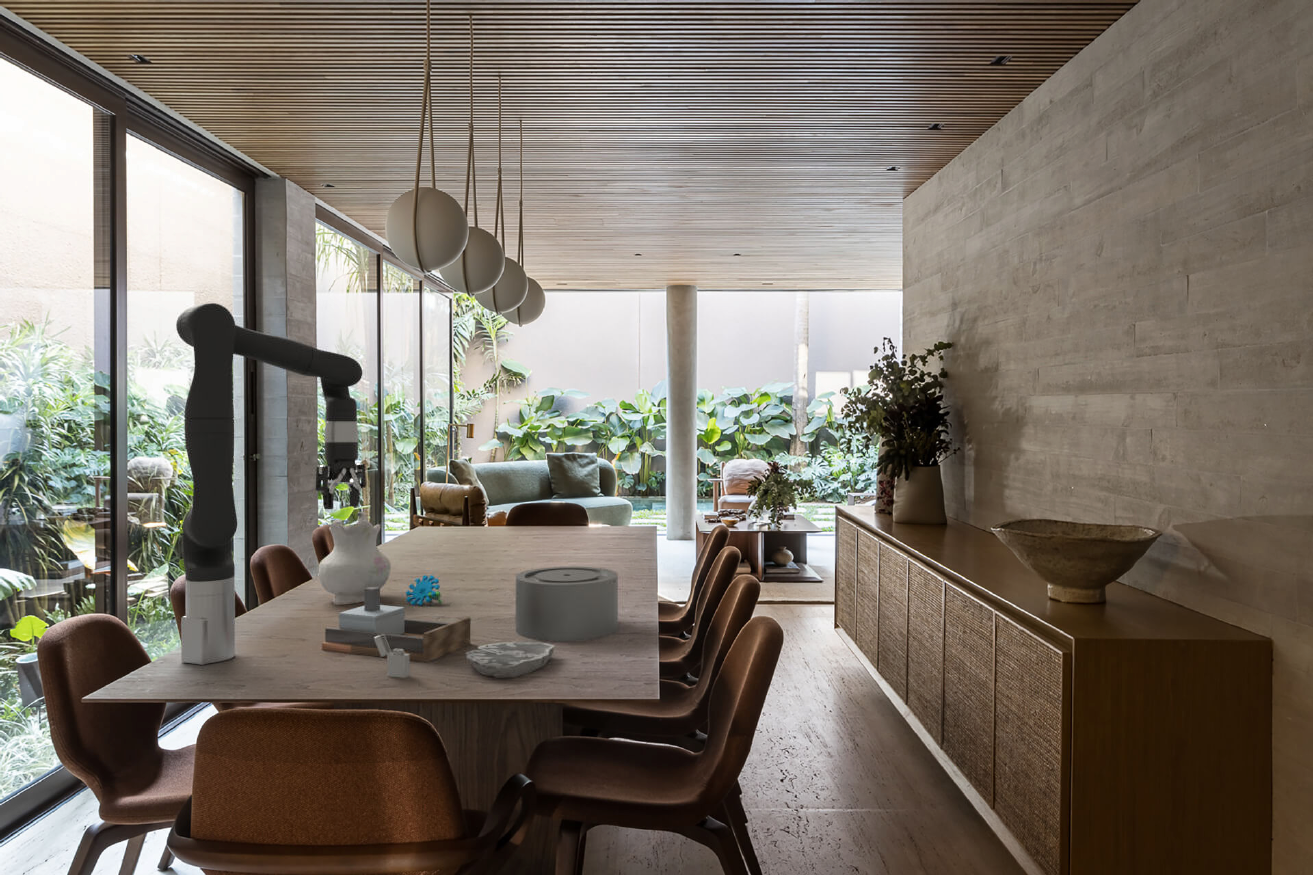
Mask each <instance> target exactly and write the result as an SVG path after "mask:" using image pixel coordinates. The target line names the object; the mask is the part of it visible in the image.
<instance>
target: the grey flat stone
mask: <svg viewBox="0 0 1313 875" xmlns="http://www.w3.org/2000/svg"><path fill="white" fill-rule="evenodd" d="M554 651H555V645H554V644H551V643H547V642H539V641H532V640H531V641H530V640H524V641H509V642H508V641H507V642H506V641H505V642H498V643H497V642H496V643H488V644H483V645H478V646H477V647H476V649H471V650H469V651H466V652H464V655H465V659H466V660H467V661H468V662H470V663H471V666H472V667H473V668H474V669H475V670H476V672H478V673H479V674H481V675H483V676H490V677H493V678H494V679H495V678H496V679H508V678H509V679H510V678H516V677H519V676H523V675H527V674H529V673H533V672H534V671H535V672H536V670H538V669H542V668H544V666H545V665H546V664H547V663H548V661H549V660H550V659H551V657H552V656H553V654H554Z"/></svg>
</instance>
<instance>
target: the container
mask: <svg viewBox="0 0 1313 875" xmlns="http://www.w3.org/2000/svg"><path fill="white" fill-rule="evenodd" d="M618 587H619V574H618V573H617V571H614V570H611V569H606V568H601V567H594V566H554V567H553V566H551V567H541V568H535V569H534V568H533V569H529V570H525V571H522V572H519V573H517V574H516V575H515V633H516V634H517V635H518V636H520V637H522V638H526V639H530V640H536V641H543V642H555V643H556V642H563V643H564V642H567V643H568V642H579V641H582V642H583V641H589V640H595V639H601V638H603V637H607V636H608V637H609V636H610V635H612V634H614V633H615V632H617V631H618V628H619V617H618V616H619V604H618V603H619V597H618V596H619V588H618Z"/></svg>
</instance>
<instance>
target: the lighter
mask: <svg viewBox="0 0 1313 875" xmlns="http://www.w3.org/2000/svg"><path fill="white" fill-rule="evenodd" d="M374 640H375V643H376V645H377V647H378V650H379V652H380V655H381V658H384V657H383V656H385V655H387V657H386V658H387V659H386V664H387V665H386V670H387V671H386V672H387V674H386V676H387V677H391V678H401V679H406V678H408V677H410V672H411V670H410V666H411V665H410V663H411V660H410V654H404V653H405V652H404V650H403V649H394V650H393V653H391V649H390V647H389V644H388V642H387V640H386V637H385V635H384V634H381V635H379V636H377V637H375V638H374Z"/></svg>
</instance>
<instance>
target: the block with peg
mask: <svg viewBox="0 0 1313 875" xmlns="http://www.w3.org/2000/svg"><path fill="white" fill-rule="evenodd" d="M363 603H364V605H362V606H357V607H354V608H351V609H348V610H345V611H342V612H338V628H339V629H348V630H358V631H367V632H376V633H385V634H394V635H401V634H403V633H404V619H405V614H406V612H405V611H406V610H405V607H404V606H394V605H393V606H391V605H384V604H381V588H378V587H369V588H366V589H364V602H363Z"/></svg>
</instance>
